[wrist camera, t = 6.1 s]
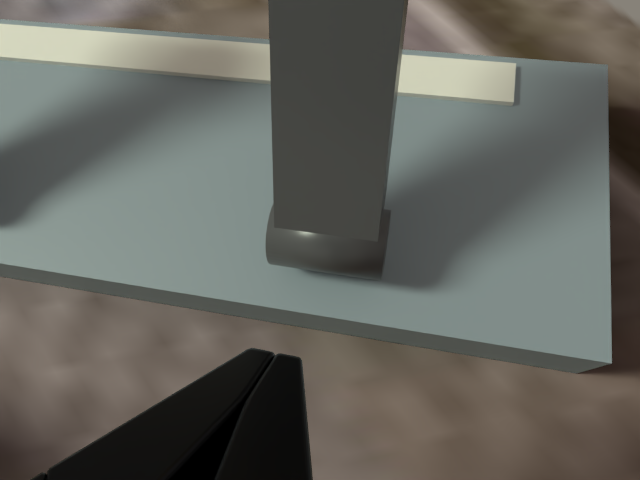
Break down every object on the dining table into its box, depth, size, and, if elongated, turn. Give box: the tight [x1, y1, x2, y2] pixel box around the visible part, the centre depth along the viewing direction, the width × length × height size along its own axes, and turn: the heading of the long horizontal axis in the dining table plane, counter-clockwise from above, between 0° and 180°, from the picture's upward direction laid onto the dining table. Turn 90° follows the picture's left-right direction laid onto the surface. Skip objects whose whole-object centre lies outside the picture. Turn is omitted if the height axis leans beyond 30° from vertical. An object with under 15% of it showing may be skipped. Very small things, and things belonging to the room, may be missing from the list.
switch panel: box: [0, 19, 612, 373], centre depth 19 cm, size 10×30×3 cm, turn 79°
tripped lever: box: [265, 0, 408, 281], centre depth 12 cm, size 2×4×11 cm
